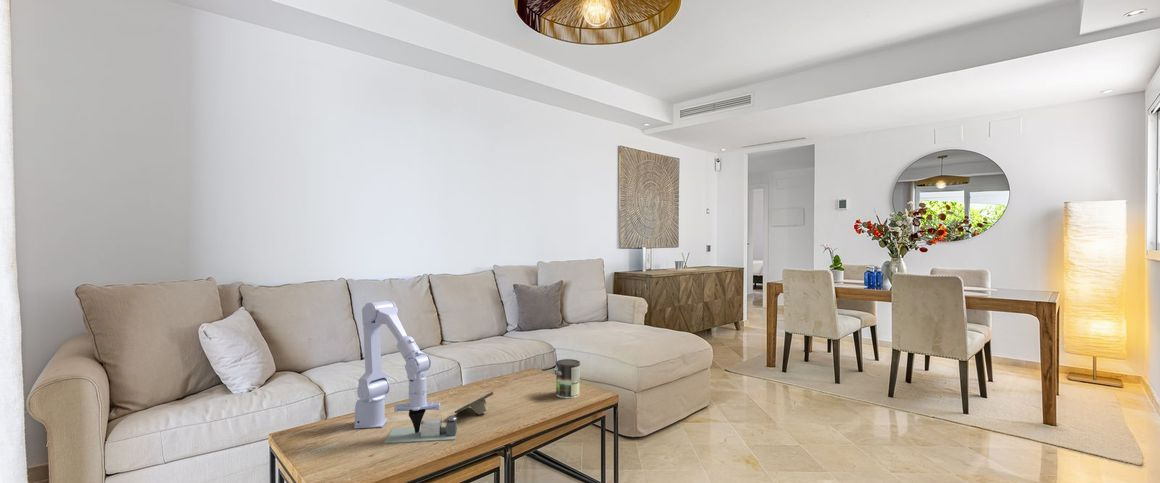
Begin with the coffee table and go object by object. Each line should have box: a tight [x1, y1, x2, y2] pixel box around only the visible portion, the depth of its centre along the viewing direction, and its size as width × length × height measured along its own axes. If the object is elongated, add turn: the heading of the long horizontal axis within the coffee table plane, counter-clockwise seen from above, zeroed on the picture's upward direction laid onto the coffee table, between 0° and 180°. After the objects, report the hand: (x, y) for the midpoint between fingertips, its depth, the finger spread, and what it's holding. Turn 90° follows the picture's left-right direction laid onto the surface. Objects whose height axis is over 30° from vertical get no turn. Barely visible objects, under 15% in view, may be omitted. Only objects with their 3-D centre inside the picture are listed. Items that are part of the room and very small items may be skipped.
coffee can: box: [555, 358, 581, 399], centre depth 207 cm, size 10×10×14 cm
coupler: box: [440, 415, 458, 436], centre depth 163 cm, size 10×5×5 cm, turn 99°
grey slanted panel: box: [449, 390, 494, 416], centre depth 182 cm, size 16×9×15 cm
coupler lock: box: [420, 417, 442, 437], centre depth 162 cm, size 6×5×4 cm
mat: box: [384, 424, 459, 445], centre depth 163 cm, size 22×12×1 cm, turn 99°
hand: (417, 431), depth 162 cm, fingers closed
